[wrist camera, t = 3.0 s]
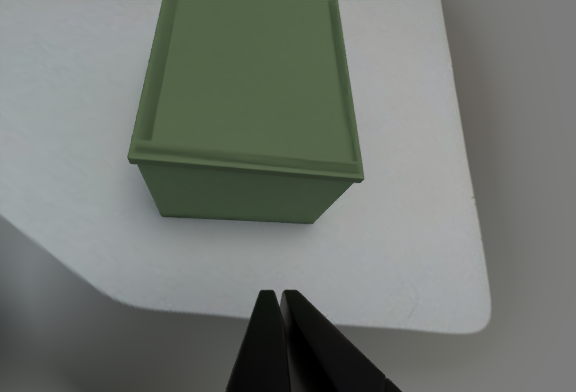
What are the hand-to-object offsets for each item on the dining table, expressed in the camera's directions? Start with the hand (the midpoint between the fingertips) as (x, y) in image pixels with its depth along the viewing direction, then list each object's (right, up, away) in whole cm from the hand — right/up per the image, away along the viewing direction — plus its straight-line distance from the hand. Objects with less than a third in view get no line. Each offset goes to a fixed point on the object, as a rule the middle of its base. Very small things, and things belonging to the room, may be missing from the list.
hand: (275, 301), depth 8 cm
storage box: (-4, +8, +18) cm, 20 cm away
